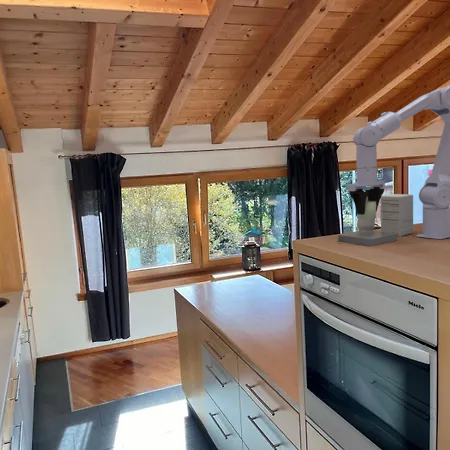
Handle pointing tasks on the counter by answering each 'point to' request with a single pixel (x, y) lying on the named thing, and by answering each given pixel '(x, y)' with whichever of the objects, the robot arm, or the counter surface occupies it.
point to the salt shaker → (365, 223)
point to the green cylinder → (369, 210)
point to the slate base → (367, 237)
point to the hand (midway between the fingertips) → (367, 213)
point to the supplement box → (397, 214)
